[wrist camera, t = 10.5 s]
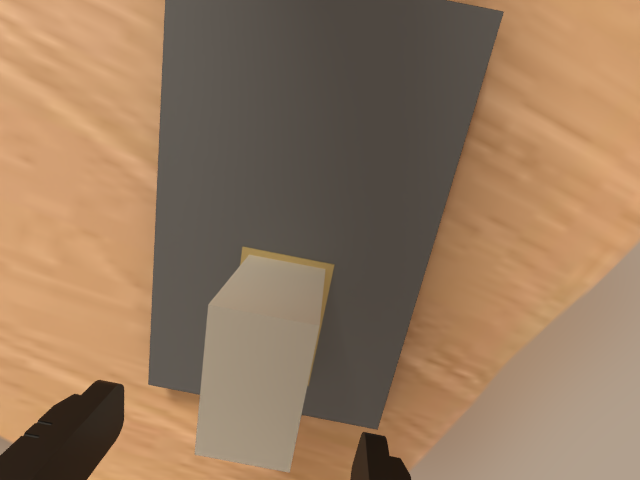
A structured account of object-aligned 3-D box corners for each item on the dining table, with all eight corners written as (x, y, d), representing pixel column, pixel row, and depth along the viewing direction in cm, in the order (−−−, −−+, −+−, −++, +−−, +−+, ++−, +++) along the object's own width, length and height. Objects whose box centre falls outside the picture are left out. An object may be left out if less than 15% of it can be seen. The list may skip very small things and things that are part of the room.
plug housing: (249, 254, 17) (208, 304, 12) (325, 269, 17) (319, 325, 12) (234, 367, 19) (194, 454, 14) (303, 380, 19) (289, 472, 14)
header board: (184, -35, 15) (96, -138, 9) (487, 24, 15) (572, -44, 9) (161, 368, 21) (100, 444, 16) (374, 410, 21) (387, 501, 16)
